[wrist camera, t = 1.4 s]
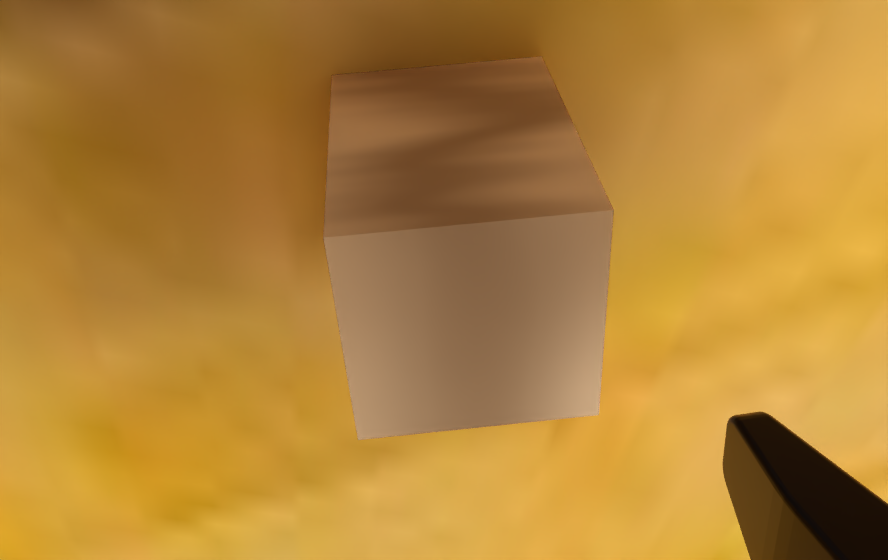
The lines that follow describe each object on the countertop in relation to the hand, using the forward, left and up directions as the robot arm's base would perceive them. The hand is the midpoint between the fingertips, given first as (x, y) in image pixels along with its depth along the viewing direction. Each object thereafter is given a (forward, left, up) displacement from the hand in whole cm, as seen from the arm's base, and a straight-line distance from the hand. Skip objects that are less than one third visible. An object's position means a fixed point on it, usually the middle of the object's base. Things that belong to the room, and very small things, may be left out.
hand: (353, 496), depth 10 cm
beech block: (-2, +2, -13) cm, 13 cm away
